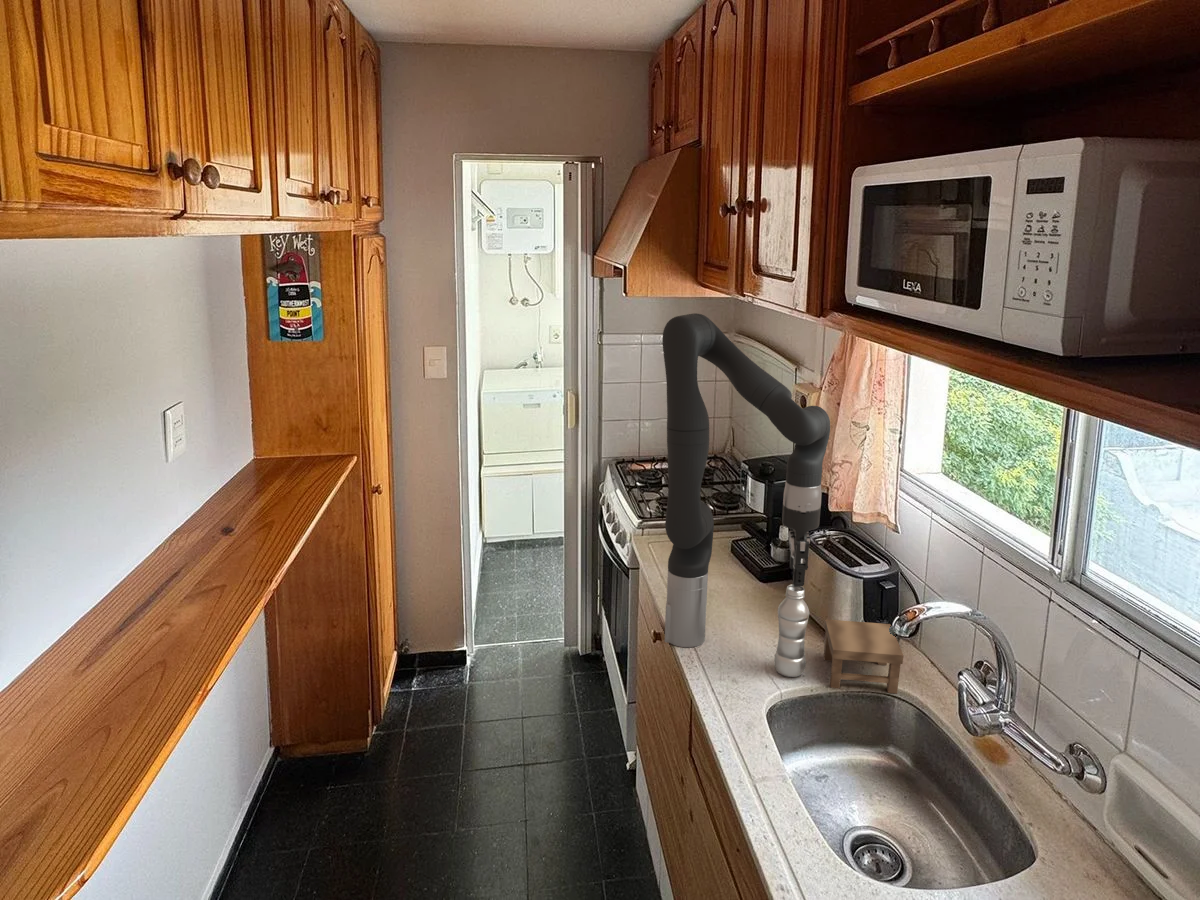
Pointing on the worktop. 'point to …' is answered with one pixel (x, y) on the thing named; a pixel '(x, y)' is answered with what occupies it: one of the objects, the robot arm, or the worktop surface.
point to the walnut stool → (862, 650)
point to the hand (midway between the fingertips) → (796, 576)
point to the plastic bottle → (792, 633)
